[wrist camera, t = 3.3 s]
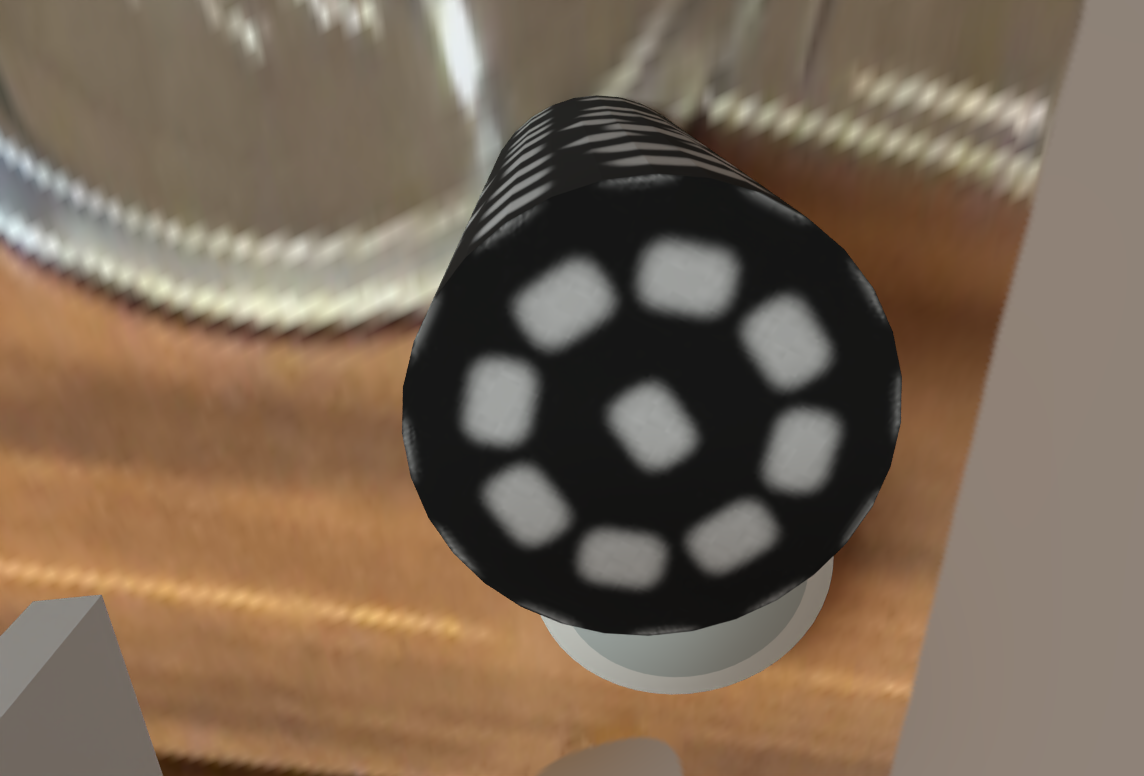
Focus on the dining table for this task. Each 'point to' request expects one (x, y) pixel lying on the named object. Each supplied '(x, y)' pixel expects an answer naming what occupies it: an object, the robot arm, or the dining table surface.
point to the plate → (699, 645)
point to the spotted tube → (645, 381)
